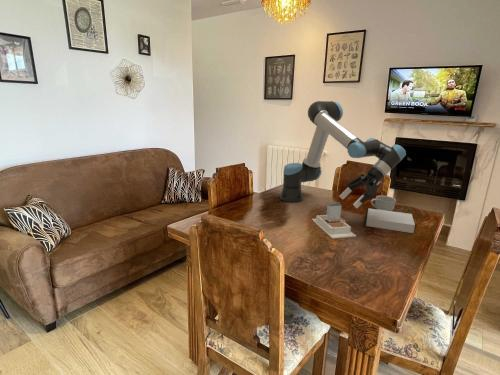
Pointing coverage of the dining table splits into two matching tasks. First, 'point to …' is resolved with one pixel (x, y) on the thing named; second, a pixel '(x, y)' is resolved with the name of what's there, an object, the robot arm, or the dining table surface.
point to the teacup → (384, 203)
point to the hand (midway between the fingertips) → (347, 202)
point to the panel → (333, 212)
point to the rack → (334, 227)
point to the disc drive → (389, 220)
